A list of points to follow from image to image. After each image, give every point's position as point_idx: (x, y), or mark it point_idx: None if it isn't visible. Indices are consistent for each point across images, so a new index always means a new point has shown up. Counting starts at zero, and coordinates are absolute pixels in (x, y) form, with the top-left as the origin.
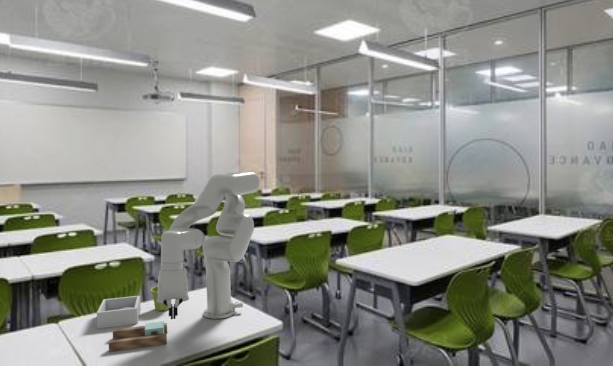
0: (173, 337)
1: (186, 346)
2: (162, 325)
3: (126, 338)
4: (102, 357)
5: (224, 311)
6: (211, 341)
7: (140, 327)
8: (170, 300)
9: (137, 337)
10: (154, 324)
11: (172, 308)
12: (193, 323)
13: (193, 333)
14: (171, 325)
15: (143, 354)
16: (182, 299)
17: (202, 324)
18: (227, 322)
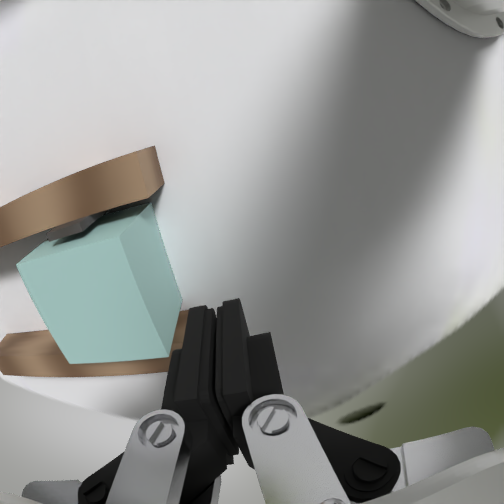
0: (226, 256)
1: (316, 358)
2: (146, 323)
3: (27, 356)
4: (29, 379)
5: (498, 12)
6: (421, 316)
7: (2, 230)
8: (177, 499)
9: (64, 360)
10: (77, 295)
11: (234, 454)
12: (326, 33)
13: (347, 211)
14: (163, 46)
15: (146, 396)
16: (389, 493)
17: (389, 70)
18: (497, 98)
